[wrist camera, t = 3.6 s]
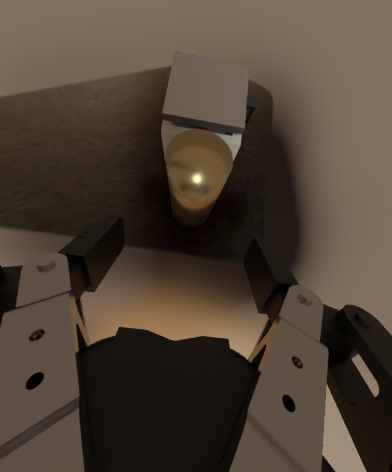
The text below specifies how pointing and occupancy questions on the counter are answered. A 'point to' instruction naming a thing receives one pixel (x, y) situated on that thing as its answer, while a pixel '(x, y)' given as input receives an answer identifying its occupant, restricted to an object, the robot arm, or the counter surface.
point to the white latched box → (173, 128)
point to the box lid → (208, 94)
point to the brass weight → (196, 174)
